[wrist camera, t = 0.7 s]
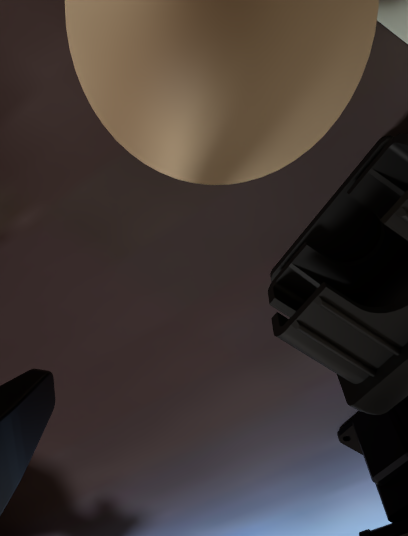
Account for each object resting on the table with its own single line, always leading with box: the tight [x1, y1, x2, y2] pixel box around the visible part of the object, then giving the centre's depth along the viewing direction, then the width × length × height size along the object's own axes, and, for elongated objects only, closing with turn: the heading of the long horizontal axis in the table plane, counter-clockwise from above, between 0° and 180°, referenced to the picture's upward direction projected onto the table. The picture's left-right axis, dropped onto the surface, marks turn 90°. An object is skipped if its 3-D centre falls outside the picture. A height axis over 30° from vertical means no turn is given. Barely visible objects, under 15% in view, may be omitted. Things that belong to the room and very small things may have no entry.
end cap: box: [268, 134, 408, 415], centre depth 16 cm, size 10×7×7 cm
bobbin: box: [65, 0, 379, 185], centre depth 12 cm, size 7×7×8 cm
